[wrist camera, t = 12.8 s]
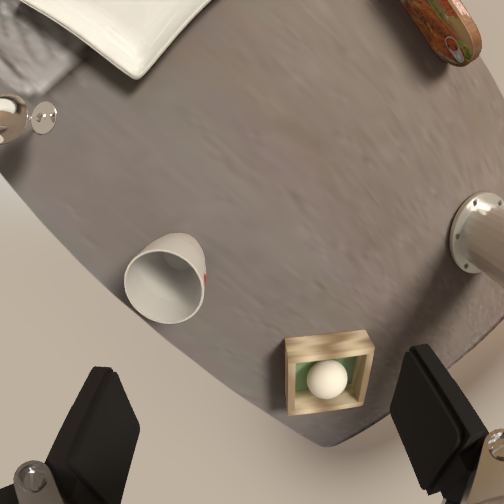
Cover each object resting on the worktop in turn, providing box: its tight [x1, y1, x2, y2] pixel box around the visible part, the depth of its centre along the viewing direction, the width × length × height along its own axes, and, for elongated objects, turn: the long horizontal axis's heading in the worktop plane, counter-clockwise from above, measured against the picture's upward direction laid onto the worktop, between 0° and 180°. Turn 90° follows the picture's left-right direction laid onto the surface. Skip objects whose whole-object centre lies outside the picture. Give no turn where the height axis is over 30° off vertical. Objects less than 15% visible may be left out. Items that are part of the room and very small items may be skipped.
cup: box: [124, 233, 206, 324], centre depth 35 cm, size 8×8×10 cm
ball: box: [307, 359, 347, 399], centre depth 44 cm, size 6×6×6 cm
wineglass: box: [0, 94, 57, 145], centre depth 27 cm, size 6×6×12 cm
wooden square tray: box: [285, 330, 375, 416], centre depth 45 cm, size 12×12×4 cm
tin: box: [399, 0, 482, 67], centre depth 25 cm, size 15×3×8 cm, turn 35°
